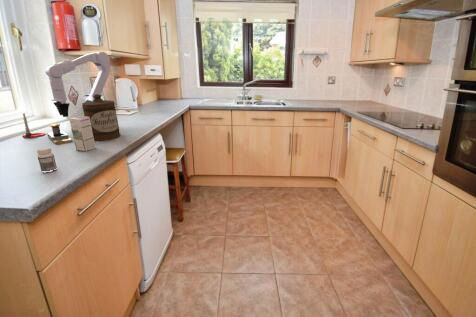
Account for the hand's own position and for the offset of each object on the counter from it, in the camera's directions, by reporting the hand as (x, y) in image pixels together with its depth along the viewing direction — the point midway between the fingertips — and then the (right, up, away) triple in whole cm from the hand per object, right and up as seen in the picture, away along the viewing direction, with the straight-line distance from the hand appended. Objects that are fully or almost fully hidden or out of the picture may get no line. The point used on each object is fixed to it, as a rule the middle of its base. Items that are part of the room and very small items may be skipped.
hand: (64, 115), depth 148 cm
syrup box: (+25, -19, -25) cm, 40 cm away
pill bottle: (+26, -27, -49) cm, 62 cm away
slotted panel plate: (+2, -13, -8) cm, 15 cm away
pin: (+2, -13, -7) cm, 15 cm away
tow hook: (-16, -11, 0) cm, 19 cm away
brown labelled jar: (+24, -12, -5) cm, 28 cm away
